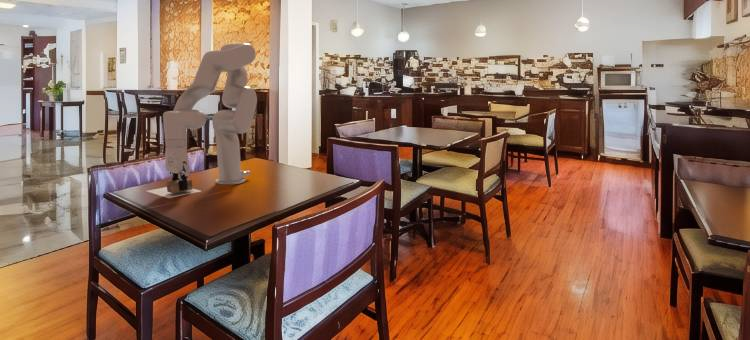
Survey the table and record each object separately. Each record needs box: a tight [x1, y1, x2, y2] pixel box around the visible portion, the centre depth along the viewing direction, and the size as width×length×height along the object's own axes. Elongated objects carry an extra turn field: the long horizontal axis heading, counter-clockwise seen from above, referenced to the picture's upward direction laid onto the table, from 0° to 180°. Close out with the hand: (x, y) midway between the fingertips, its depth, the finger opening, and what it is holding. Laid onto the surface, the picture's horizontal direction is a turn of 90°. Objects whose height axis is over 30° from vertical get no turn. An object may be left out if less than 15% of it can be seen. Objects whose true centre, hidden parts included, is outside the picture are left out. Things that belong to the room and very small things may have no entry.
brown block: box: [166, 178, 194, 193], centre depth 180 cm, size 4×8×4 cm, turn 142°
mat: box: [146, 186, 202, 199], centre depth 184 cm, size 14×18×1 cm
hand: (180, 188), depth 181 cm, fingers closed on brown block, 4 cm apart
